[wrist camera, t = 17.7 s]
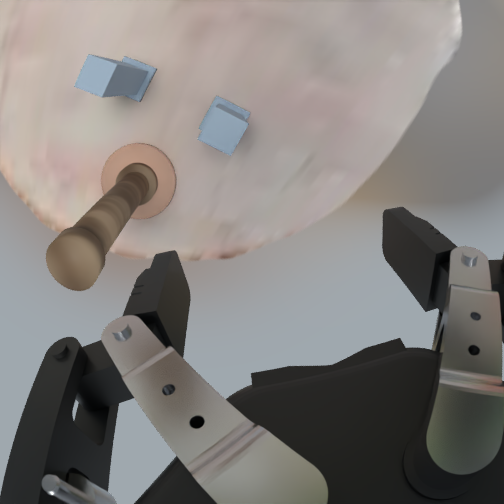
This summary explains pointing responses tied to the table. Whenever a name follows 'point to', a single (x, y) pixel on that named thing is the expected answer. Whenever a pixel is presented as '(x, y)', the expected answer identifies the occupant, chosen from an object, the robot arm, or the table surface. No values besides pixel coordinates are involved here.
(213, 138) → the blue pillar pair
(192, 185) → the table surface
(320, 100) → the table surface
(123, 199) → the candlestick
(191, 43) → the table surface
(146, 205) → the disc
